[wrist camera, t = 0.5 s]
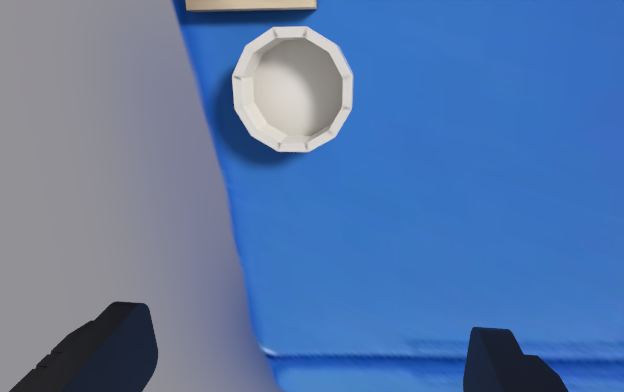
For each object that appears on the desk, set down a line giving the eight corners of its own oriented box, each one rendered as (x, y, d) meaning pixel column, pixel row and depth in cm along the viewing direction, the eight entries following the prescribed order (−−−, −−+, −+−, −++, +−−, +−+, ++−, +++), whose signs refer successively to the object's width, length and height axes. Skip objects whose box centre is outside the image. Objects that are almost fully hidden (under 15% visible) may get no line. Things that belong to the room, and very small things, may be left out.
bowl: (244, 31, 31) (228, 28, 27) (355, 29, 30) (353, 25, 26) (251, 140, 34) (237, 150, 30) (351, 142, 33) (350, 153, 29)
